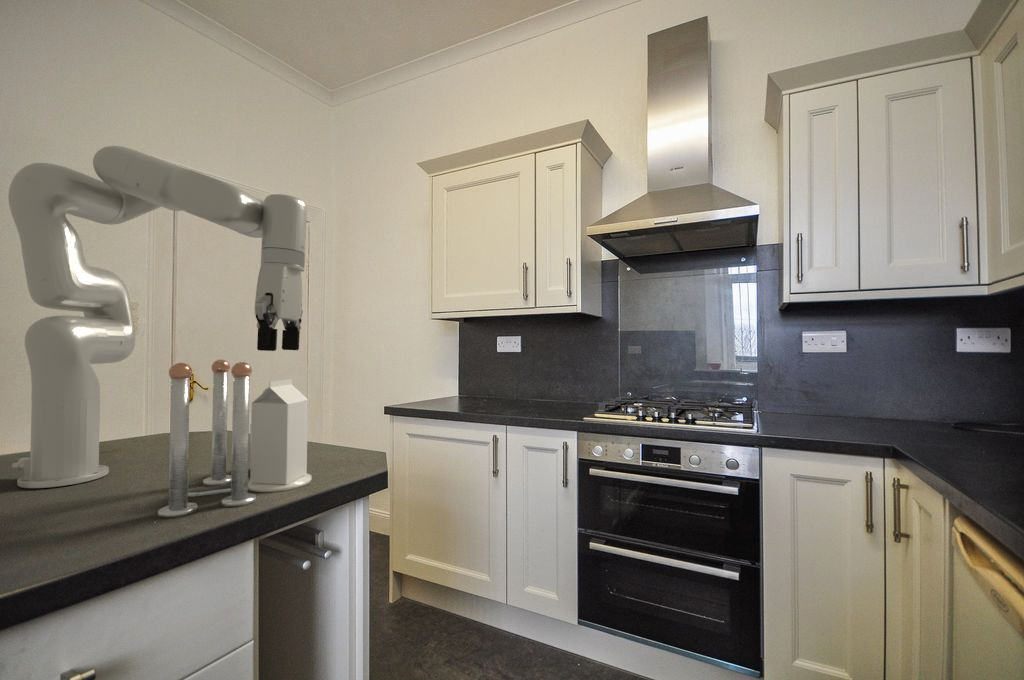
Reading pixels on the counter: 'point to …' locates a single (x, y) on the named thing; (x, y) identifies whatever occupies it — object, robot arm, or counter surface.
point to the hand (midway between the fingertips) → (279, 350)
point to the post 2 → (219, 425)
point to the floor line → (209, 492)
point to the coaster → (280, 485)
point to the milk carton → (279, 434)
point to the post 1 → (179, 444)
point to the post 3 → (240, 438)
